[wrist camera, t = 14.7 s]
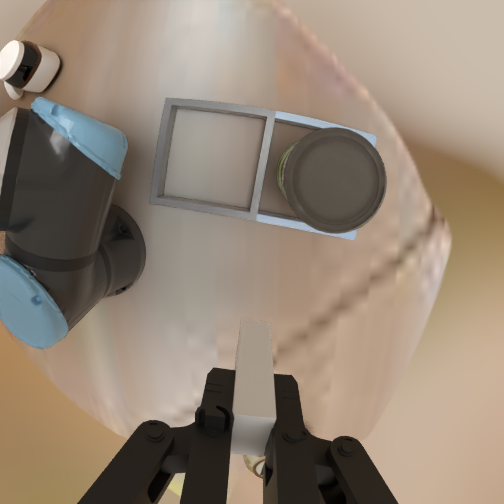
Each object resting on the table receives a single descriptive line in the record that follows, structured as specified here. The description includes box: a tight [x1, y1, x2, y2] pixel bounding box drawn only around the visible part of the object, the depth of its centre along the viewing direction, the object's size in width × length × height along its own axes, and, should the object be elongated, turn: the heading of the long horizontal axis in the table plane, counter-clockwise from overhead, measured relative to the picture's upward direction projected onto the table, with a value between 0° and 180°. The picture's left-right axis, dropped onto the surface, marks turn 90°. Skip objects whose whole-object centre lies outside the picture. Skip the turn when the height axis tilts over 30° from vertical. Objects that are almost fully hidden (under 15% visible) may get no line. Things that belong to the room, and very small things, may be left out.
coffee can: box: [277, 127, 387, 234], centre depth 33 cm, size 10×10×14 cm
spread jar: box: [0, 40, 61, 100], centre depth 29 cm, size 12×11×12 cm
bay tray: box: [150, 98, 377, 240], centre depth 38 cm, size 29×15×3 cm, turn 80°
